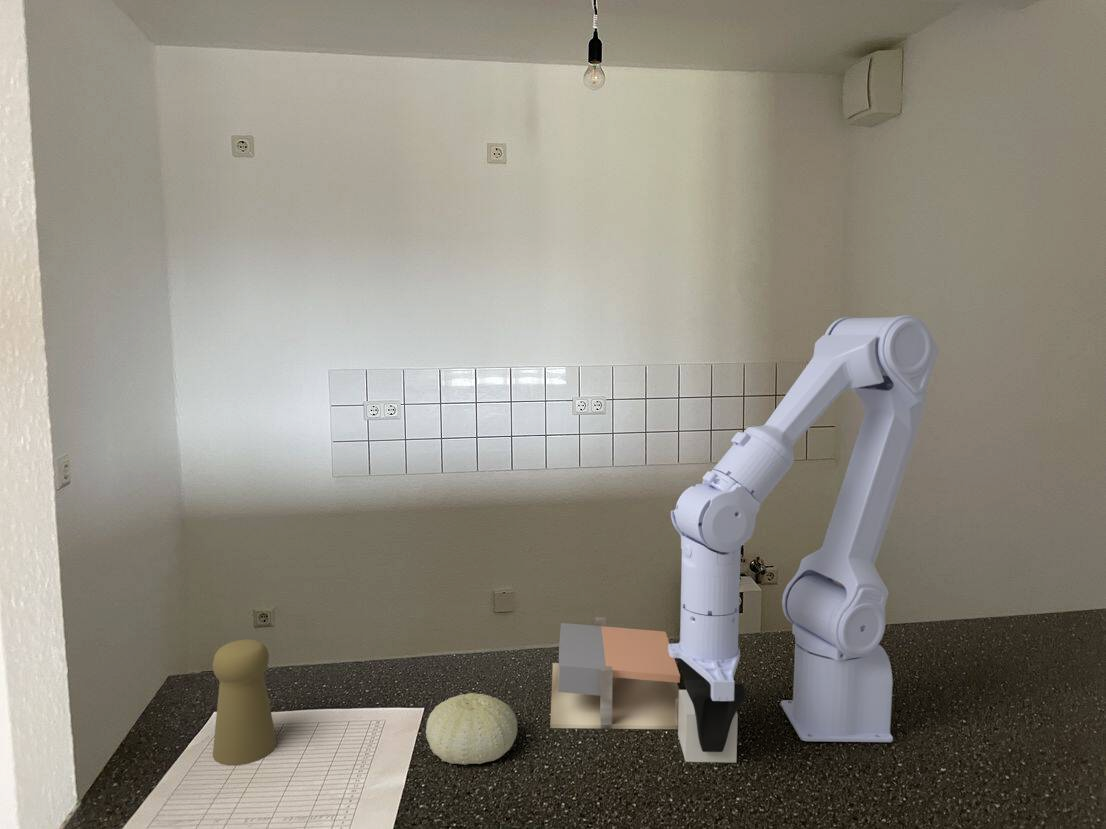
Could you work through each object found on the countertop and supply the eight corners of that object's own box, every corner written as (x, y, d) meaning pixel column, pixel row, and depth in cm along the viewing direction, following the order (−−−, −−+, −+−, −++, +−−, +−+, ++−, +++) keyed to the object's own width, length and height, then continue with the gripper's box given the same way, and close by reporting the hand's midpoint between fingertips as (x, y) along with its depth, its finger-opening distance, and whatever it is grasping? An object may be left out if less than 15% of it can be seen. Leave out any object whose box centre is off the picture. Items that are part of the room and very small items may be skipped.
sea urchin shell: (513, 759, 71) (455, 697, 71) (457, 807, 72) (401, 746, 73) (534, 711, 80) (483, 656, 80) (484, 755, 81) (434, 701, 82)
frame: (671, 666, 94) (671, 617, 94) (690, 729, 79) (691, 671, 79) (552, 665, 95) (552, 616, 94) (550, 728, 80) (550, 669, 79)
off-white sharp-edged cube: (725, 735, 78) (726, 690, 78) (736, 762, 73) (737, 714, 73) (678, 735, 79) (678, 689, 78) (685, 762, 74) (686, 713, 73)
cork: (214, 771, 72) (208, 662, 71) (210, 741, 77) (205, 639, 76) (280, 755, 75) (276, 650, 73) (272, 727, 80) (268, 628, 79)
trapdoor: (663, 654, 93) (665, 631, 92) (677, 702, 81) (680, 675, 80) (559, 646, 93) (561, 622, 92) (558, 692, 81) (560, 665, 81)
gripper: (660, 581, 82) (658, 699, 83) (680, 634, 67) (677, 776, 69) (725, 581, 82) (721, 700, 83) (759, 635, 67) (754, 776, 69)
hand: (706, 734), depth 76 cm, fingers open, 5 cm apart
